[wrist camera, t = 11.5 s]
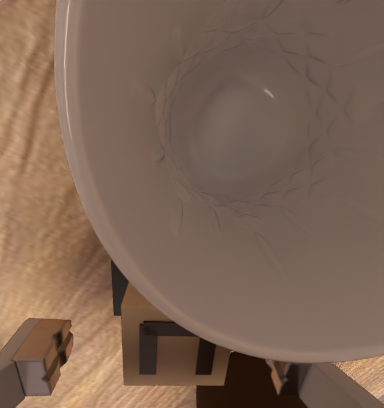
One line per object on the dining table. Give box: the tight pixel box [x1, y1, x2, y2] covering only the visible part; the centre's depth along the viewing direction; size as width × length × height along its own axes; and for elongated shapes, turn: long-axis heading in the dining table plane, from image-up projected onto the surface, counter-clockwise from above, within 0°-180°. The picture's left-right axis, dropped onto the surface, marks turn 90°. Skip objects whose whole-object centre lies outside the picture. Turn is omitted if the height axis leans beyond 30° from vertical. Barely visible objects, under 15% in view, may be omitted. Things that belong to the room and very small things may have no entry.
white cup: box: [54, 0, 384, 363], centre depth 7 cm, size 8×8×10 cm
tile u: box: [121, 282, 231, 385], centre depth 11 cm, size 4×4×5 cm
